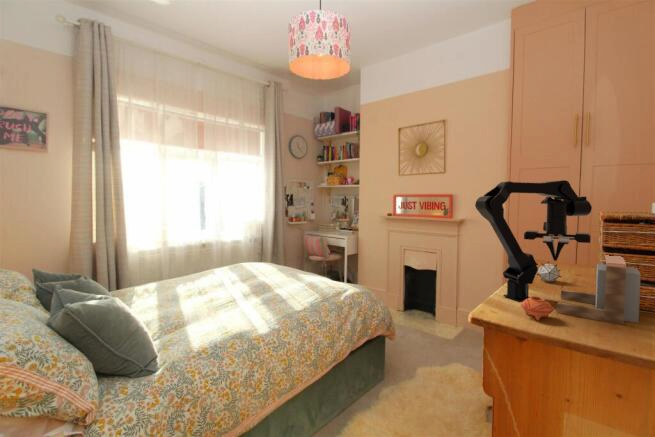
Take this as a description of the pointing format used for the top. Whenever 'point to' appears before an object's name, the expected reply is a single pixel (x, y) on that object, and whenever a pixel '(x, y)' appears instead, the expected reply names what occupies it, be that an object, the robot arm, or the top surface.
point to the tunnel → (612, 296)
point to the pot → (537, 307)
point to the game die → (548, 272)
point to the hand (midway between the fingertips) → (555, 260)
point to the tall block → (630, 291)
